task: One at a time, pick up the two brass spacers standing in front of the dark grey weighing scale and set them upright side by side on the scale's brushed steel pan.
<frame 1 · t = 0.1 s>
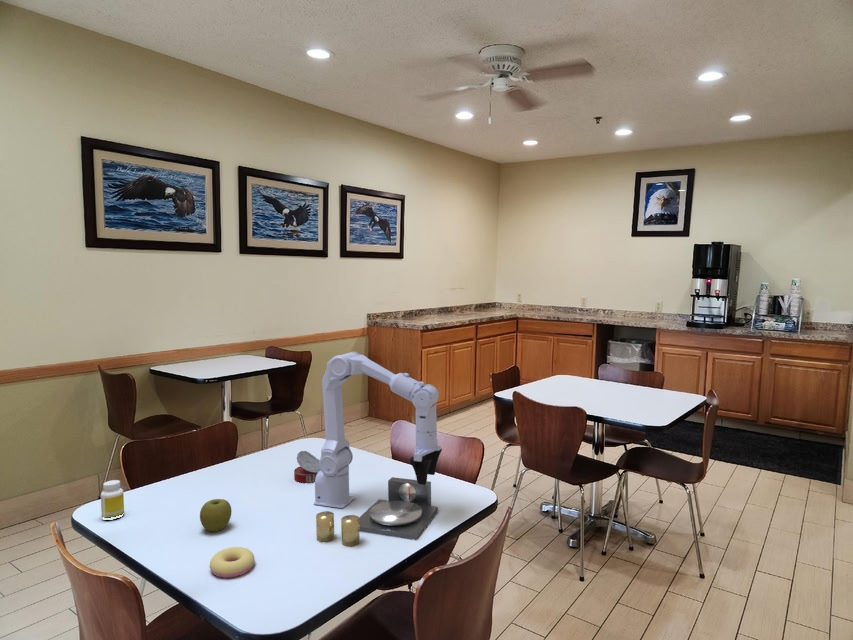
hand: (426, 479, 149), 10 cm above the table, tool pointing down, fingers open, 7 cm apart
canned food: (309, 479, 179), on the table
spacer a: (350, 542, 134), on the table
spacer b: (325, 538, 136), on the table
donut: (232, 569, 123), on the table
scale: (396, 520, 146), on the table
scale pan: (395, 512, 146), point 2 cm above the table, slide at 0.2 cm
supplement bottle: (113, 518, 150), on the table
apple: (216, 529, 142), on the table
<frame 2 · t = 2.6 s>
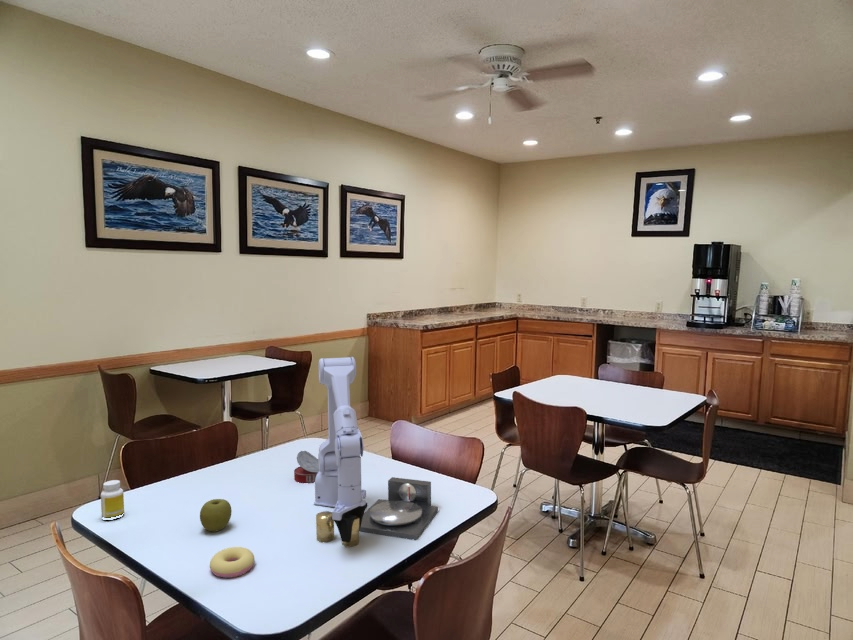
hand: (350, 536, 134), 1 cm above the table, tool pointing down, fingers closed on spacer a, 4 cm apart
spacer a: (350, 542, 134), on the table, touching gripper
everything else where it was.
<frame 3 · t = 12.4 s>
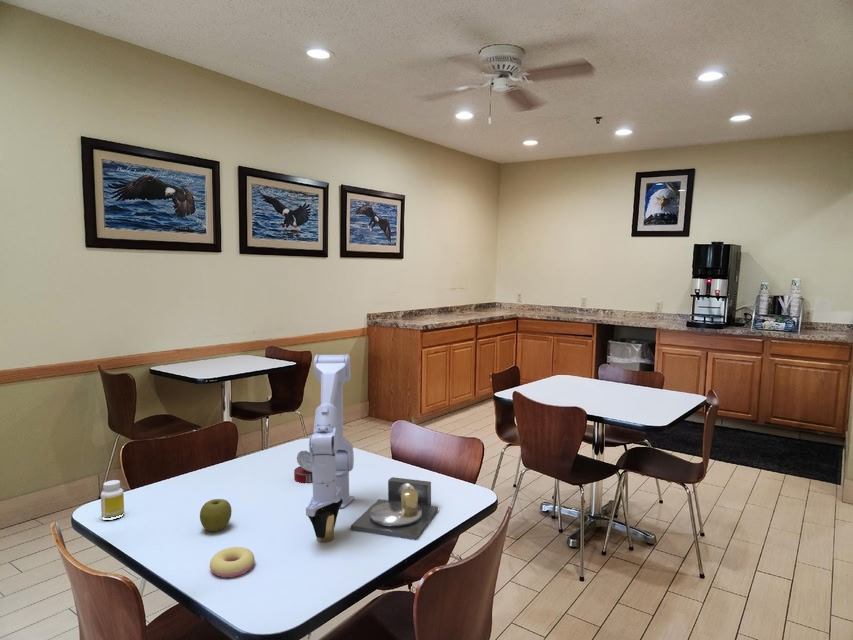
hand: (325, 532, 136), 1 cm above the table, tool pointing down, fingers closed on spacer b, 4 cm apart
spacer a: (409, 513, 145), point 2 cm above the table, touching scale pan
spacer b: (325, 538, 136), on the table, touching gripper
scale pan: (395, 513, 146), point 2 cm above the table, slide at 0.5 cm, touching spacer a
everything else where it was.
when the fingers open (5 cm above the table, at t = 18.2 s): spacer b drops 2 cm, resting on scale pan.
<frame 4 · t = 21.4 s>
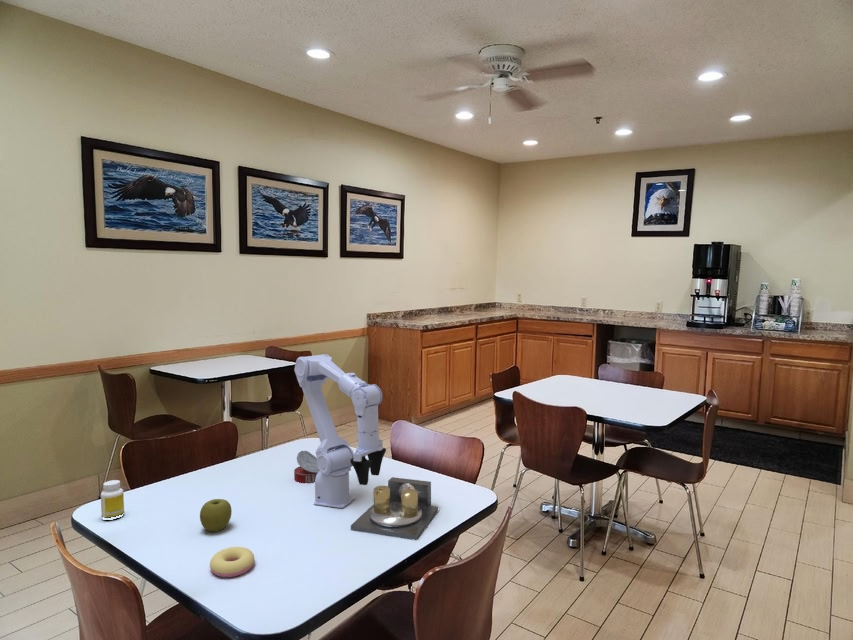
hand: (369, 479, 148), 10 cm above the table, tool pointing down, fingers open, 7 cm apart
spacer b: (381, 510, 148), point 2 cm above the table, touching scale pan
scale pan: (395, 513, 146), point 2 cm above the table, slide at 0.6 cm, touching spacer a, spacer b
everything else where it was.
at the end: spacer a inside the target area on the scale (3.9 cm from its centre), point 2.2 cm above the scale's base; spacer b inside the target area on the scale (4.1 cm from its centre), point 2.2 cm above the scale's base; spacer b tilted 0° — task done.
